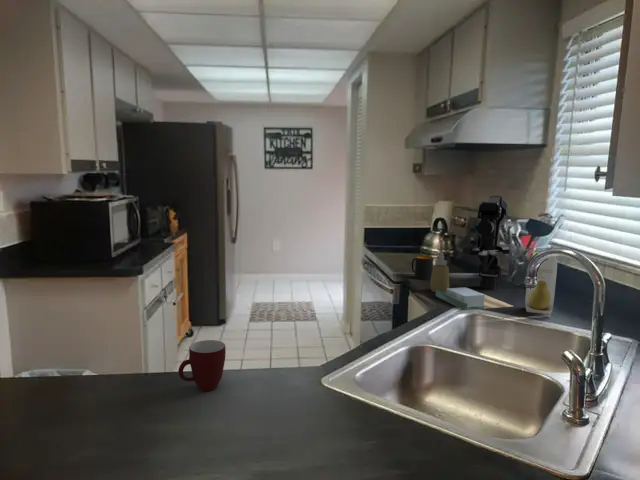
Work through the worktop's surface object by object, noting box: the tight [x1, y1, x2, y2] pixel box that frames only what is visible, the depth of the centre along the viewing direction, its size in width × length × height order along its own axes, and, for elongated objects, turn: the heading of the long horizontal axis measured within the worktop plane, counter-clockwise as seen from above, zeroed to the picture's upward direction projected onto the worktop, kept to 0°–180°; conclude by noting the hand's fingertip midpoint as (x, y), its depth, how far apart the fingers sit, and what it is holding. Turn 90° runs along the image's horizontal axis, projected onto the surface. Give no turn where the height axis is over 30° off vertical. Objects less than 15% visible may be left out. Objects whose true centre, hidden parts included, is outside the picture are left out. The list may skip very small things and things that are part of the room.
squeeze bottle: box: [429, 251, 450, 293], centre depth 197 cm, size 8×8×18 cm
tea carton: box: [446, 287, 486, 306], centre depth 183 cm, size 9×12×4 cm
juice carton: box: [524, 251, 558, 318], centre depth 171 cm, size 9×8×24 cm
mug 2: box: [411, 255, 434, 281], centre depth 229 cm, size 8×12×10 cm
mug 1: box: [177, 339, 227, 392], centre depth 106 cm, size 10×8×10 cm
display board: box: [435, 290, 514, 311], centre depth 184 cm, size 22×20×4 cm
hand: (484, 270), depth 190 cm, fingers closed
